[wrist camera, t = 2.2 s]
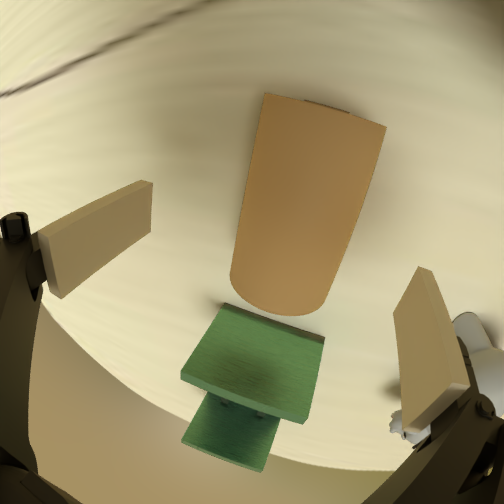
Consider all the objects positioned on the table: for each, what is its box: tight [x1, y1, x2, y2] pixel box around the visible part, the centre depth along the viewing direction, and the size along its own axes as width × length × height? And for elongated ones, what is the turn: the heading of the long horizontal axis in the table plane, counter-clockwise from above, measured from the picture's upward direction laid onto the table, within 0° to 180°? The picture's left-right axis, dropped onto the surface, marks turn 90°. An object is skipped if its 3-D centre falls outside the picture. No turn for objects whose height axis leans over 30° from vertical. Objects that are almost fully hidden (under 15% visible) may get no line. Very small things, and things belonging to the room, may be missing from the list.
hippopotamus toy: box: [389, 313, 504, 444], centre depth 19 cm, size 11×15×10 cm
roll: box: [230, 93, 387, 316], centre depth 18 cm, size 12×7×7 cm, turn 169°
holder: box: [181, 303, 325, 472], centre depth 27 cm, size 16×10×9 cm, turn 169°
